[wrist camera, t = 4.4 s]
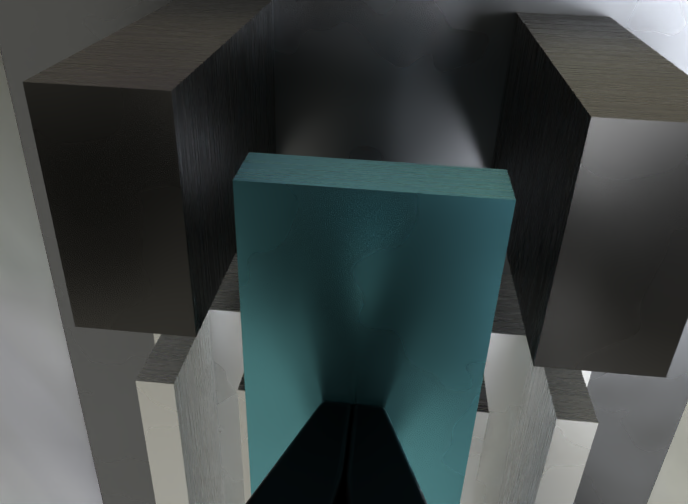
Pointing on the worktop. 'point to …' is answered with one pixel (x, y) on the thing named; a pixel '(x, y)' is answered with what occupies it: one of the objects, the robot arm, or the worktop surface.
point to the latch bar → (369, 300)
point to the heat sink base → (377, 145)
